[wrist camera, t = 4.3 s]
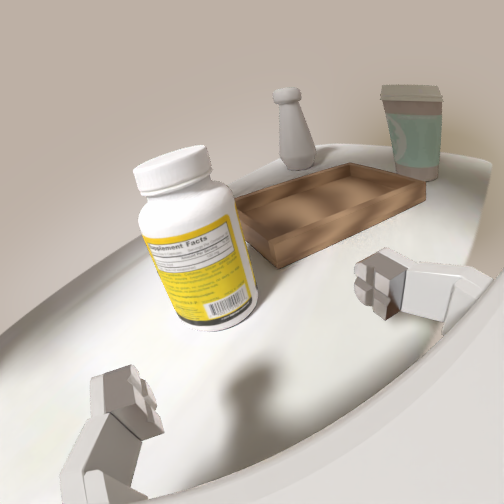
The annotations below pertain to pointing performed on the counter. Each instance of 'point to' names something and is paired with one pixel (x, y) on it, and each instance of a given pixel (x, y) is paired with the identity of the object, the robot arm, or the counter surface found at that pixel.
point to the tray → (322, 209)
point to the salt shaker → (293, 131)
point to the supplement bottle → (196, 240)
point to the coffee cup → (414, 128)
